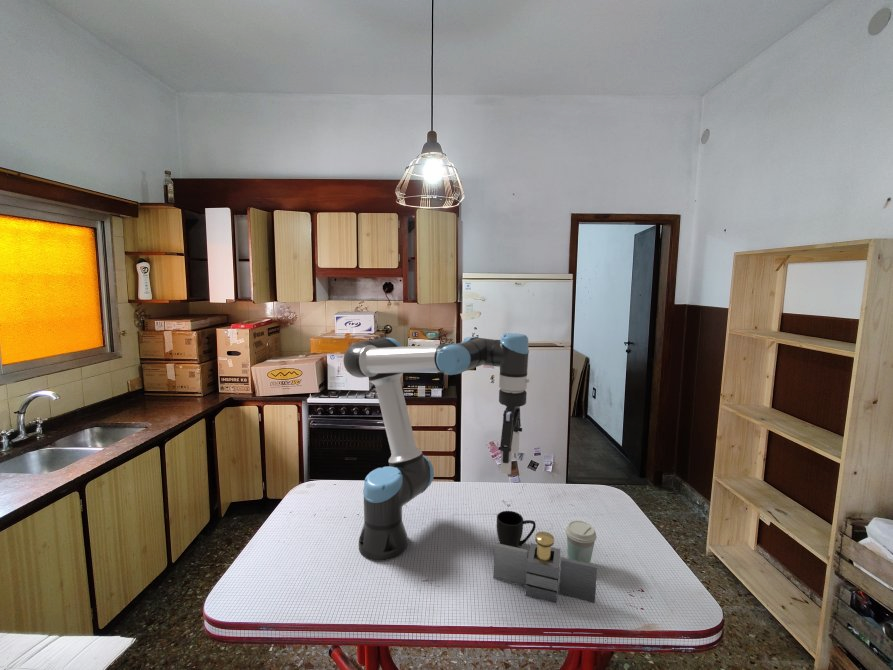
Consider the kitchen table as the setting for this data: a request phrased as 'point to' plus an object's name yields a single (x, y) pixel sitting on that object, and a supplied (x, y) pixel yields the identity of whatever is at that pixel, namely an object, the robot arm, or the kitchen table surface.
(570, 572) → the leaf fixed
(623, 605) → the kitchen table surface
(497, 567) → the grey piece
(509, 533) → the mug
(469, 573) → the kitchen table surface
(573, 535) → the coffee cup
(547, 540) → the pin
